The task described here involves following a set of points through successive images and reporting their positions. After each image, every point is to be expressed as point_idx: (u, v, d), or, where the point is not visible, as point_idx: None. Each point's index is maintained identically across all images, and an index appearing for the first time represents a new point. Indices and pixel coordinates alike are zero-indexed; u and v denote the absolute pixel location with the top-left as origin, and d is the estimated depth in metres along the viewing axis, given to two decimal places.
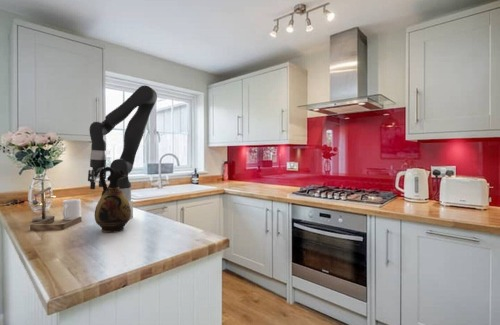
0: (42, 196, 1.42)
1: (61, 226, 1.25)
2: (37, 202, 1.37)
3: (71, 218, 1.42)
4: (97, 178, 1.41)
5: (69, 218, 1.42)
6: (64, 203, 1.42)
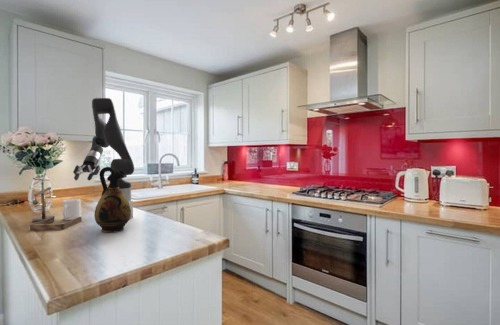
0: (42, 196, 1.42)
1: (61, 226, 1.25)
2: (37, 202, 1.37)
3: (71, 218, 1.42)
4: (80, 170, 1.58)
5: (69, 218, 1.42)
6: (64, 203, 1.42)
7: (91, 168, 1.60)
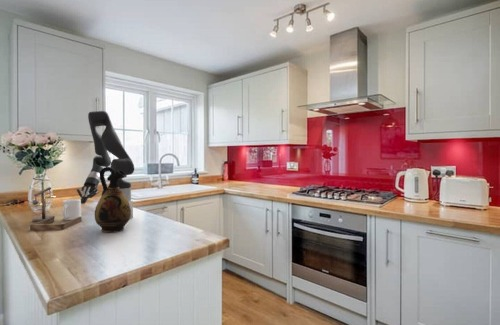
0: (42, 196, 1.42)
1: (61, 226, 1.25)
2: (37, 202, 1.37)
3: (71, 218, 1.42)
4: (84, 192, 1.59)
5: (69, 218, 1.42)
6: (64, 203, 1.42)
7: (90, 191, 1.60)
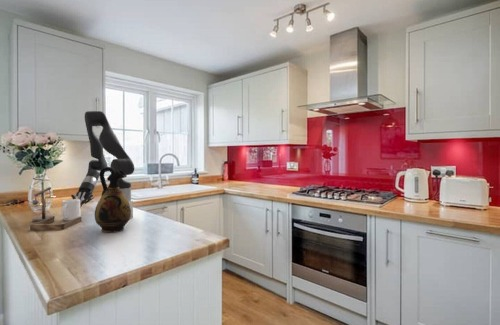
0: (42, 196, 1.42)
1: (61, 226, 1.25)
2: (37, 202, 1.37)
3: (70, 218, 1.42)
4: (79, 198, 1.53)
5: (68, 218, 1.41)
6: (63, 203, 1.41)
7: (84, 196, 1.54)
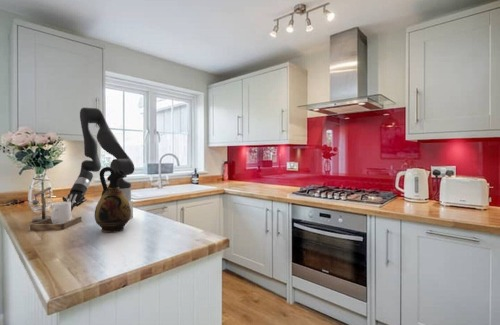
0: (42, 196, 1.42)
1: (61, 226, 1.25)
2: (37, 202, 1.37)
3: (60, 222, 1.34)
4: (70, 200, 1.45)
5: (58, 222, 1.33)
6: (53, 206, 1.33)
7: (76, 199, 1.47)
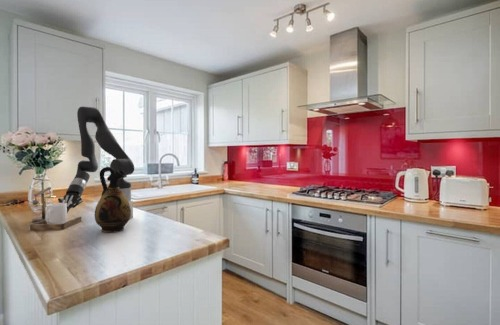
0: (42, 196, 1.42)
1: (61, 226, 1.25)
2: (37, 202, 1.37)
3: None
4: (66, 202, 1.41)
5: None
6: (48, 208, 1.30)
7: (72, 200, 1.43)
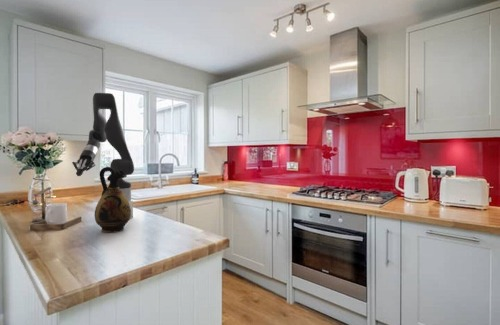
0: (42, 196, 1.42)
1: (61, 226, 1.25)
2: (37, 202, 1.37)
3: None
4: (80, 165, 1.54)
5: None
6: (48, 208, 1.30)
7: (86, 163, 1.56)
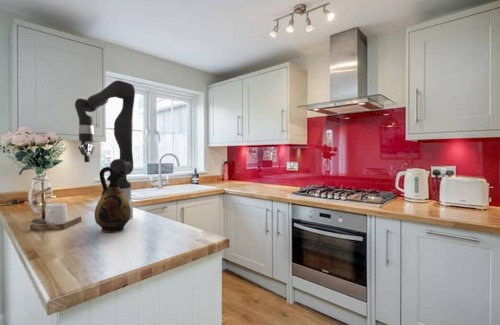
0: (42, 196, 1.42)
1: (61, 226, 1.25)
2: (37, 202, 1.37)
3: None
4: (89, 151, 1.56)
5: None
6: (48, 208, 1.30)
7: None
